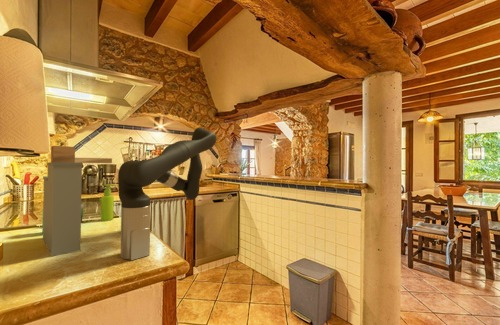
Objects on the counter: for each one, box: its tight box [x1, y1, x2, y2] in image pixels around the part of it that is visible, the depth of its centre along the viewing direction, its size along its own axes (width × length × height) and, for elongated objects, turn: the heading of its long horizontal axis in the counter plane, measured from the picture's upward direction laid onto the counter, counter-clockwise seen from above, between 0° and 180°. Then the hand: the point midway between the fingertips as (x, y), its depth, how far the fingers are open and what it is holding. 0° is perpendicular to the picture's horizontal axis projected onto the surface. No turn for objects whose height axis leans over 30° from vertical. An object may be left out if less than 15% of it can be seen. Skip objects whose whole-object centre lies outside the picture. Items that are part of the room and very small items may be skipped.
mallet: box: [50, 145, 113, 164], centre depth 90 cm, size 7×19×6 cm, turn 137°
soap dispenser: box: [100, 183, 116, 222], centre depth 127 cm, size 6×7×20 cm
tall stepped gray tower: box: [42, 161, 84, 258], centre depth 89 cm, size 26×8×32 cm, turn 47°
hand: (137, 161), depth 105 cm, fingers open, 8 cm apart
